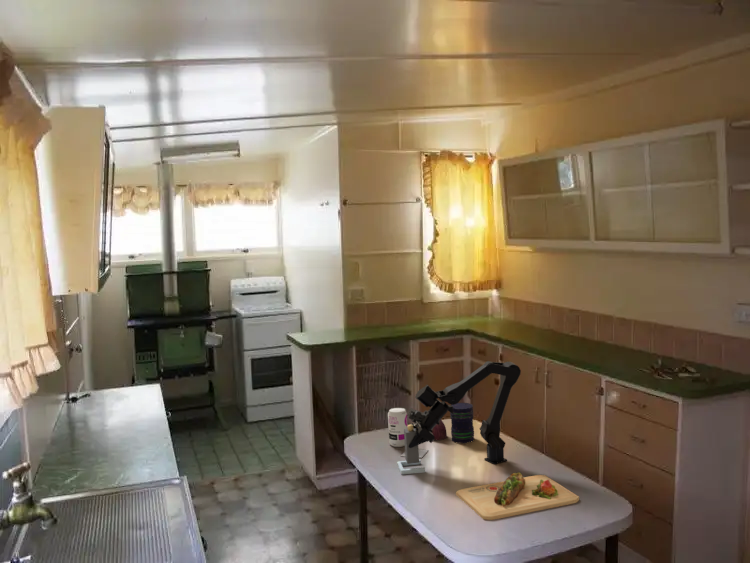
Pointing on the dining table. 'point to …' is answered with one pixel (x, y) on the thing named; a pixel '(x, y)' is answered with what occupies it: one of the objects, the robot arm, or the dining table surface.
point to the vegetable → (439, 431)
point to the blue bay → (409, 471)
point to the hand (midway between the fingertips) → (408, 445)
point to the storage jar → (462, 423)
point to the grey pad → (421, 453)
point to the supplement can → (397, 426)
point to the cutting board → (516, 496)
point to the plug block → (413, 452)
